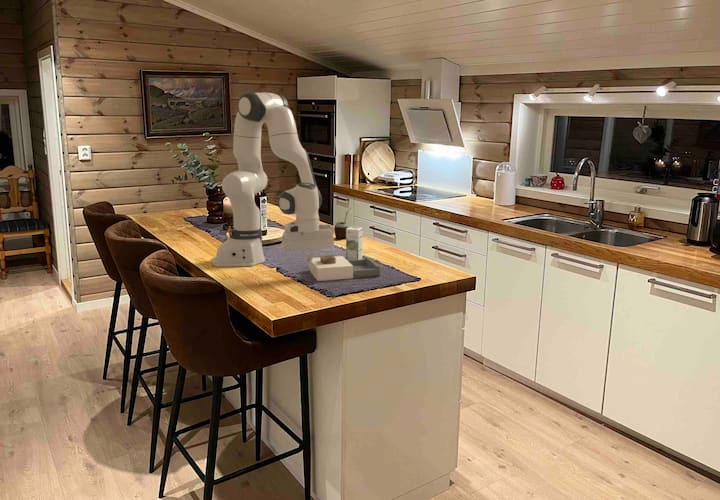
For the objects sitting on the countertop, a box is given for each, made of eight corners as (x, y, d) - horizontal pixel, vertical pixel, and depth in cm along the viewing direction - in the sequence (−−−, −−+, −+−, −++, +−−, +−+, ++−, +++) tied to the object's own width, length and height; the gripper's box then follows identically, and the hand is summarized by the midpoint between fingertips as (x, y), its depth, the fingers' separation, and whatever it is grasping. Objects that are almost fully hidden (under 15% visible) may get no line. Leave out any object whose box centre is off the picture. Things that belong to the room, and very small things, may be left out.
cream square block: (317, 281, 230) (317, 268, 229) (309, 270, 245) (308, 258, 243) (353, 278, 234) (353, 265, 232) (342, 267, 249) (342, 255, 247)
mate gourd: (333, 240, 299) (332, 210, 295) (336, 236, 306) (336, 207, 303) (347, 240, 297) (347, 210, 294) (350, 237, 305) (351, 208, 301)
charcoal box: (353, 278, 234) (353, 268, 233) (343, 267, 249) (343, 258, 248) (379, 276, 237) (379, 266, 236) (367, 265, 252) (367, 256, 251)
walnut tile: (323, 264, 235) (323, 259, 234) (320, 260, 239) (320, 256, 239) (335, 263, 236) (335, 258, 236) (332, 260, 241) (332, 255, 240)
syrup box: (362, 259, 262) (363, 226, 258) (358, 262, 256) (358, 229, 253) (350, 258, 264) (350, 225, 260) (345, 261, 258) (345, 228, 255)
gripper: (331, 222, 238) (332, 256, 241) (280, 225, 232) (281, 260, 235) (335, 225, 232) (336, 260, 235) (283, 228, 226) (284, 264, 229)
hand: (308, 260), depth 235 cm, fingers closed
